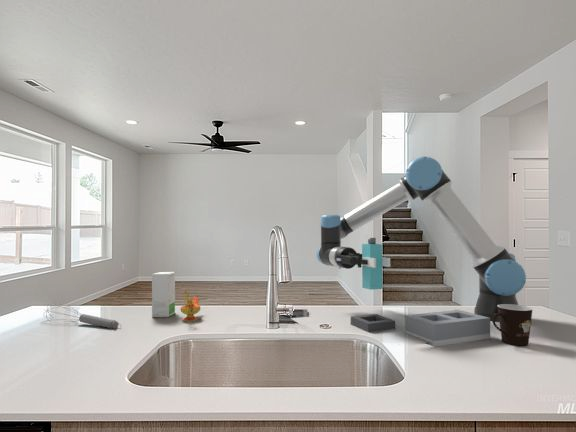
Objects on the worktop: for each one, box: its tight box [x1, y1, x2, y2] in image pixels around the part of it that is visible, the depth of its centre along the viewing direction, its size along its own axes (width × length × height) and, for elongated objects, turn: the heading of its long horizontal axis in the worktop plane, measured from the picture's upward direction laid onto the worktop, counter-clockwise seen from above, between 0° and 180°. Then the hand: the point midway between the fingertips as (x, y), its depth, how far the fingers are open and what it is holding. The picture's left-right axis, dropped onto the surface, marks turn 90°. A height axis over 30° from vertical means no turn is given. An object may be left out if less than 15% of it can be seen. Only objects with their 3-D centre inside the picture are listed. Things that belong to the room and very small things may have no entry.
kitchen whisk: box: [42, 302, 122, 330], centre depth 131 cm, size 6×34×6 cm, turn 69°
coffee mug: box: [492, 304, 533, 347], centre depth 111 cm, size 12×9×10 cm
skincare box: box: [151, 271, 176, 318], centre depth 145 cm, size 8×7×16 cm
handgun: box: [279, 308, 309, 324], centre depth 142 cm, size 13×2×18 cm
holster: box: [350, 313, 396, 333], centre depth 124 cm, size 10×10×4 cm
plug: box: [361, 237, 384, 291], centre depth 125 cm, size 4×4×16 cm
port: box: [404, 309, 491, 348], centre depth 116 cm, size 21×12×6 cm, turn 112°
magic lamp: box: [180, 290, 201, 322], centre depth 140 cm, size 7×18×11 cm, turn 179°
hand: (382, 262), depth 120 cm, fingers closed on plug, 4 cm apart
